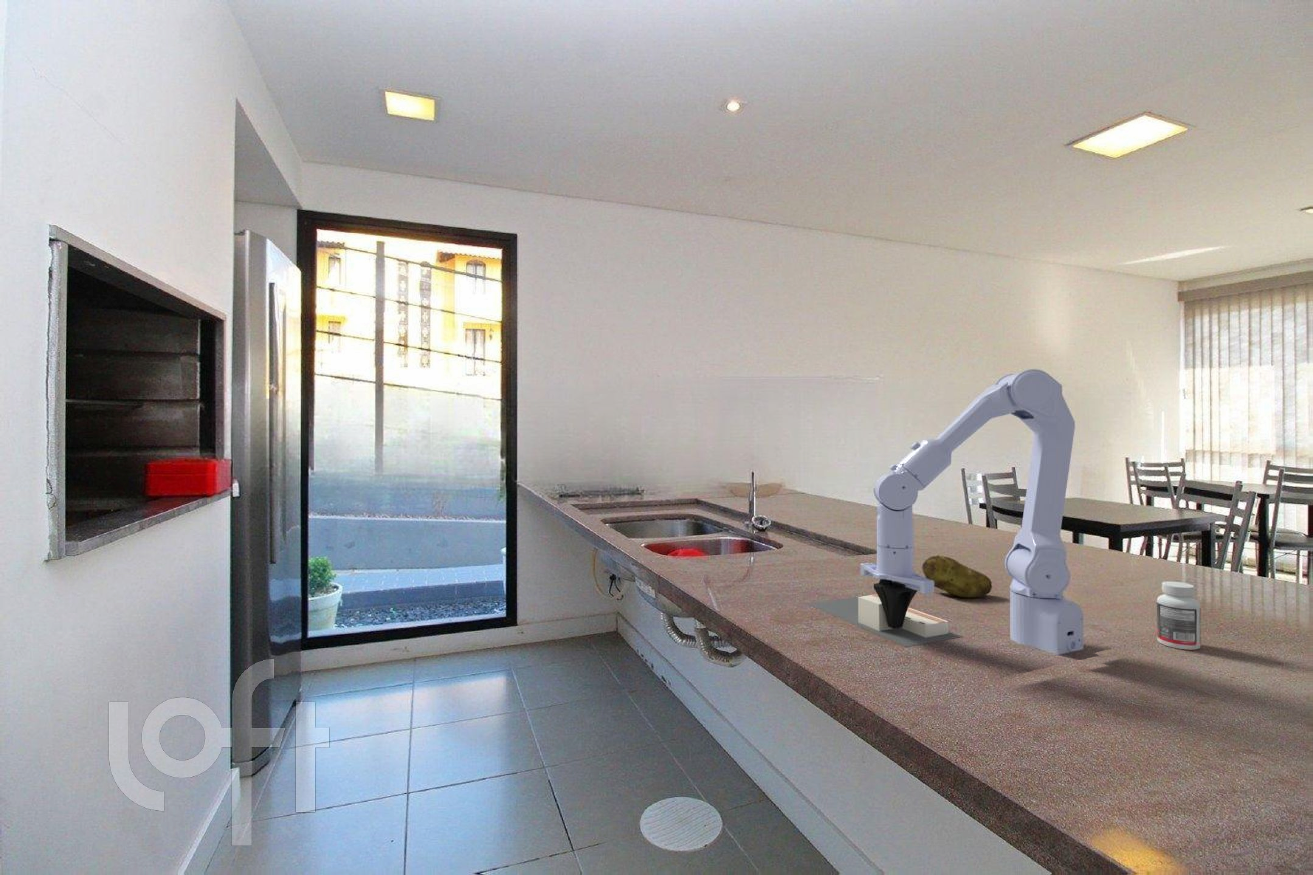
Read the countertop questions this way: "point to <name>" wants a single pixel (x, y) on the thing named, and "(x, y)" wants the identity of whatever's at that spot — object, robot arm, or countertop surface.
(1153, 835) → the countertop surface
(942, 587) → the potato
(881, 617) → the stub
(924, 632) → the cream striped bar
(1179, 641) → the pill bottle
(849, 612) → the mat
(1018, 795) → the countertop surface
